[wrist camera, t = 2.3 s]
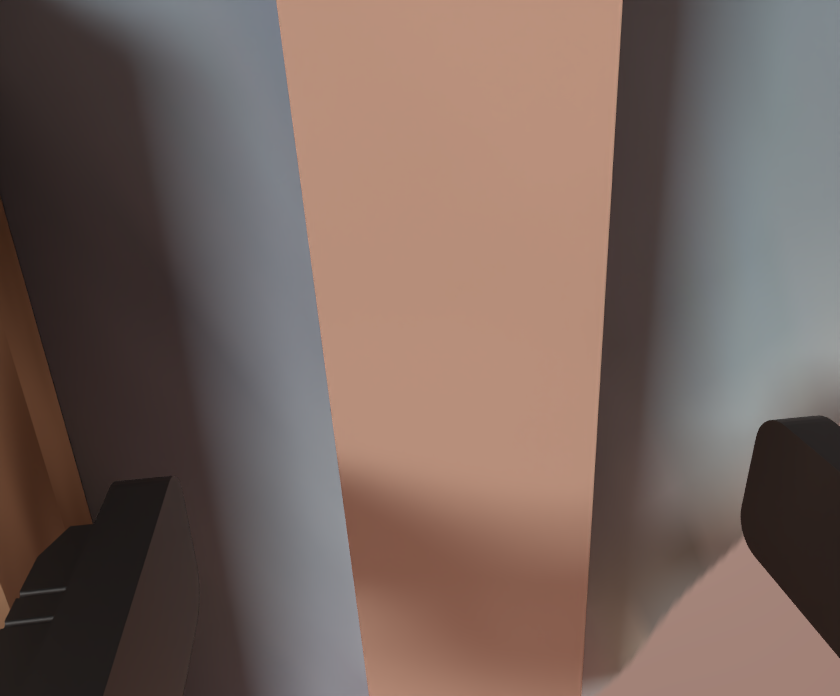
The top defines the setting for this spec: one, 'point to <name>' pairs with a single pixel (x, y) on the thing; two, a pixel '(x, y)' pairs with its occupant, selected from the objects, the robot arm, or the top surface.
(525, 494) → the clay strip
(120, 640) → the robot arm
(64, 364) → the top surface
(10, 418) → the rack
